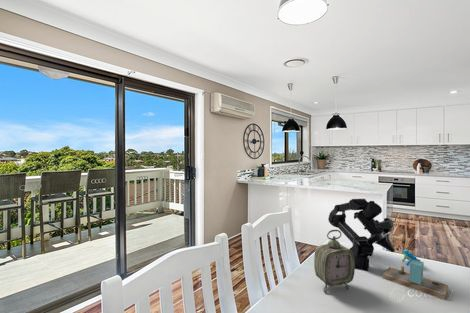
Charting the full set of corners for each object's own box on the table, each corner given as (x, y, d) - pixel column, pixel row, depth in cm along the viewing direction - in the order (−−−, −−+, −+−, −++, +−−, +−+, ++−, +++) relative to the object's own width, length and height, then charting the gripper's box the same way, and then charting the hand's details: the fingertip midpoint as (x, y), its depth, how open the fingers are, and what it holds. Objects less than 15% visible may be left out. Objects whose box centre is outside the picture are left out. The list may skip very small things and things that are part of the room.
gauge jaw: (409, 281, 107) (409, 262, 107) (413, 275, 113) (413, 257, 112) (420, 284, 105) (421, 266, 104) (424, 278, 110) (424, 260, 109)
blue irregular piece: (429, 267, 122) (413, 251, 123) (420, 275, 122) (404, 260, 123) (414, 260, 133) (400, 246, 134) (406, 268, 133) (392, 253, 134)
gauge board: (382, 278, 114) (382, 267, 114) (389, 270, 121) (389, 260, 121) (445, 299, 99) (445, 287, 98) (448, 289, 106) (448, 278, 105)
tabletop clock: (324, 296, 100) (325, 234, 99) (311, 284, 109) (312, 227, 108) (354, 290, 104) (356, 231, 103) (339, 279, 113) (341, 224, 112)
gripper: (375, 216, 110) (404, 248, 103) (388, 209, 123) (414, 237, 116) (356, 229, 116) (382, 261, 109) (370, 221, 129) (394, 249, 122)
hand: (393, 251), depth 114 cm, fingers closed
